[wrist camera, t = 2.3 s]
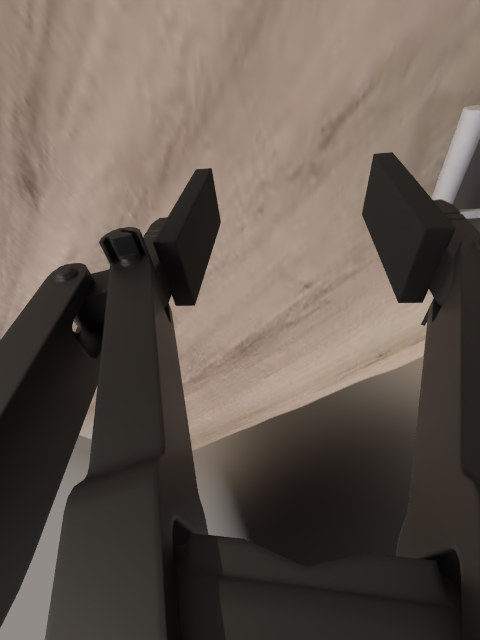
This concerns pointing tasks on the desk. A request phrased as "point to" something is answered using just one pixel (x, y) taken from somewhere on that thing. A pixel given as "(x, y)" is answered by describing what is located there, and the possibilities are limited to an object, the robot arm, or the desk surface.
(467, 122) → the drawer
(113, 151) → the desk surface
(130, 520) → the robot arm
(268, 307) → the desk surface
